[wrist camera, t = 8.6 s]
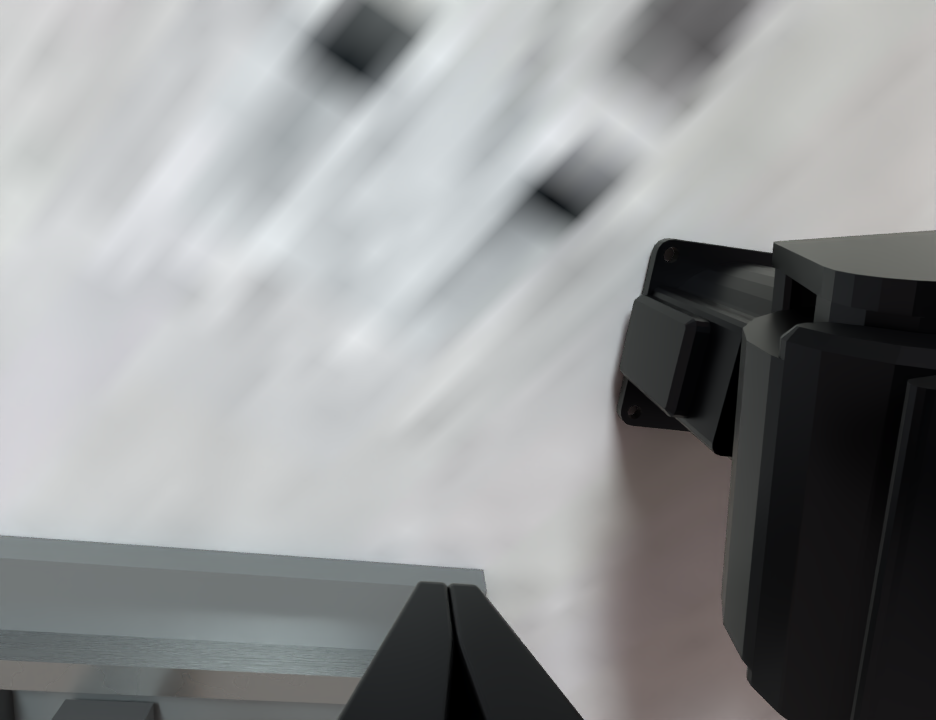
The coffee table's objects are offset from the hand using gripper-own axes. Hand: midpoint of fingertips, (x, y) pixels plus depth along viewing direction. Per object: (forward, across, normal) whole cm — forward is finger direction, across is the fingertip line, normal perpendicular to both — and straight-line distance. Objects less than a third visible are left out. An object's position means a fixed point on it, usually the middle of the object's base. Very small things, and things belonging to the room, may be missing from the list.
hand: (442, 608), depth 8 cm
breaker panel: (+12, +6, +16) cm, 21 cm away
